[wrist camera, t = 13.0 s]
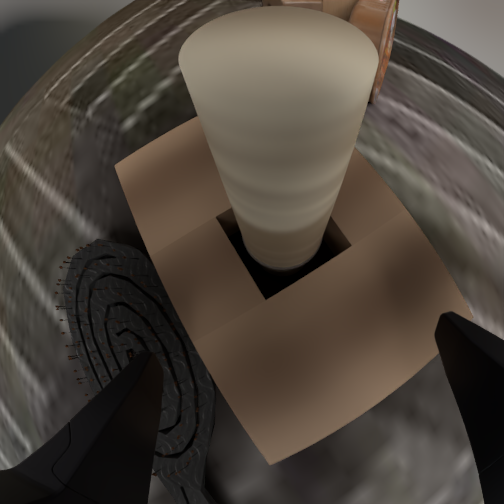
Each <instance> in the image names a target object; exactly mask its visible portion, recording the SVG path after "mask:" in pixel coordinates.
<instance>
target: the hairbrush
mask: <svg viewBox="0 0 504 504" xmlns="http://www.w3.org/2000/svg"><path fill="white" fill-rule="evenodd" d="M86 246H87V247H85V248H82V247H80V249H82V250H79V249H76V251H79V252H78V253H77V254H75V255H74V256H73V257H72V260H71V262H66V261H63V263H71V264H70V267H69V270H68V274H67V277H66V281H65V284H61V285H64V288H63V291H64V298H65V305H66V306H56V307H58V308H59V307H66V308H63V309H66V311H67V317H68V322H69V328H70V333H71V337H72V342H73V344H74V345H71V346H74V347H75V350H76V352H77V355H76V356H78V357H76V358H79V360H80V363H81V365H82V367H83V370H84V372H85V375H86V377H85V378H87V379H88V381H89V384H90V386H91V388H92V390H93V392H94V395H95V396H96V395H97V394H98V393H99V392H100V391H101V390H102V389H103V388H104V387H105V386H106V385H107V384H108V383H109V382H110V381H111V380H112V379H113V378H114V377H115V376H116V375H117V374H119V373H120V372H121V371H122V370H123V369H124V368H125V367H126V366H127V365H128V364H129V363H130V362H131V361H132V356H133V355H131V354H132V353H131V352H130V349H131V348H132V349H133V350H134V351H135V353H136V355H138V354H139V353H140V352H143V351H152V352H154V353H155V354H156V356H157V358H158V360H159V362H160V364H161V366H162V368H163V370H164V381H163V387H164V393H163V394H162V409H161V419H160V425H159V430H158V436H157V442H156V448H155V454H154V460H153V467H152V468H153V469H154V471H155V473H156V474H155V473H153V474H152V475H154V476H157V475H158V477H159V478H160V480H161V481H162V483H163V484H164V486H165V487H166V488H167V490H168V491H169V493H170V494H171V495H172V497H173V498H174V500H175V502H176V503H177V504H216V502H215V501H214V500H213V498H212V497H211V495H210V494H209V493H208V491H207V490H206V488H205V469H206V456H207V453H208V450H209V446H210V441H211V436H212V432H213V428H214V425H213V417H214V424H215V402H216V397H215V391H214V384H213V378H212V376H211V374H210V373H209V371H208V369H207V368H206V366H205V364H204V362H203V361H202V359H201V357H200V355H199V353H198V352H197V350H196V348H195V346H194V344H193V342H192V341H191V339H190V337H189V335H188V333H187V331H186V329H185V327H184V326H183V324H182V322H181V320H180V318H179V316H178V314H177V312H176V310H175V308H174V306H173V304H172V302H171V300H170V298H169V296H168V294H167V292H166V290H165V288H164V285H163V283H162V281H161V279H160V277H159V275H158V273H157V270H156V268H155V266H154V264H153V262H152V261H151V260H150V259H149V258H148V257H147V255H146V254H145V253H143V252H142V251H140V250H139V249H137V248H134V247H132V246H130V245H126V244H121V243H116V242H111V241H105V240H100V239H97V240H95V241H94V242H93V243H91V244H90V245H89V244H87V245H86ZM116 257H117V258H116ZM67 258H68V259H70V257H68V256H67ZM59 267H60V269H62V268H63V267H62V266H59ZM110 274H113V275H120V276H126V277H128V278H130V279H131V280H132V281H133V282H135V283H136V284H137V285H138V286H139V287H141V288H142V289H143V290H144V291H143V290H142V289H141V288H139V287H138V286H136V285H134V284H132V283H131V282H130V281H128V280H124V279H122V278H118V277H113V276H108V275H110ZM58 281H59V282H60V281H62V280H61V279H58ZM56 285H60V284H58V283H57V284H56ZM145 291H146V292H147V293H146V292H145ZM55 294H58V292H55ZM151 296H152V297H153V298H154V299H155V300H157V301H158V302H159V304H160V305H161V304H162V305H163V307H164V309H162V307H161V306H160V305H159V304H158V303H157V302H156V301H155V300H154V299H153V298H152V297H151ZM117 303H127V304H128V305H130V306H131V307H132V308H133V309H135V310H136V311H135V310H133V309H132V308H130V307H129V306H125V305H121V306H116V304H117ZM58 308H57V309H56V310H59V309H58ZM165 311H166V312H167V313H166V312H165ZM143 316H144V317H143ZM147 319H148V320H147ZM60 321H63V319H60ZM127 329H129V330H131V331H127V332H125V330H127ZM155 332H156V333H155ZM61 334H65V333H64V332H62V333H61ZM157 335H158V336H157ZM138 336H139V337H140V336H141V337H143V339H144V340H143V339H142V338H141V337H140V338H139V337H138ZM180 336H181V337H180ZM159 338H160V339H159ZM181 338H182V339H181ZM182 340H183V341H184V343H185V344H186V348H187V351H186V349H185V347H184V344H183V341H182ZM161 341H162V342H161ZM66 347H68V345H66ZM166 348H167V349H166ZM167 350H168V351H167ZM167 352H169V353H167ZM187 352H188V354H187ZM169 355H170V358H171V360H170V358H169ZM188 355H189V356H188ZM68 357H69V360H72V359H75V358H70V357H73V356H68ZM189 358H190V360H189ZM171 361H172V363H171ZM190 362H191V363H190ZM172 364H173V365H172ZM191 365H192V367H191ZM192 368H193V371H192ZM78 371H79V370H78ZM74 372H77V371H76V370H74ZM193 372H194V374H193ZM194 375H195V378H196V381H197V385H198V391H199V407H198V402H197V396H198V395H197V390H196V385H195V380H194ZM80 379H83V378H80ZM80 379H79V378H78V379H77V380H80ZM88 381H87V382H88ZM178 382H179V383H178ZM83 383H84V382H83ZM78 384H82V383H81V382H79V383H78ZM179 385H180V387H179ZM180 388H181V390H182V393H183V400H182V410H181V399H182V395H181V391H180ZM91 394H92V393H91ZM87 395H88V394H85V396H87ZM90 401H91V400H88V402H90ZM198 409H199V424H197V417H198V415H197V414H198ZM180 412H181V422H180V423H179V424H178V425H177V426H176V427H175V428H173V429H171V430H162V429H165V428H168V427H171V426H174V425H175V423H176V421H177V419H178V417H180V416H179V415H180ZM178 420H179V419H178ZM212 425H213V428H212ZM197 426H199V427H198V430H197V433H196V434H195V431H196V427H197ZM161 430H162V431H161ZM194 434H195V438H194V442H193V443H192V444H191V445H190V446H188V447H187V448H186V449H185V450H184V448H185V447H186V445H187V444H188V443H189V441H190V440H191V439H192V438H193V437H194ZM183 450H184V451H183ZM178 452H181V453H180V454H175V453H178Z"/></svg>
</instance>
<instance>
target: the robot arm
mask: <svg viewBox="0 0 504 504" xmlns="http://www.w3.org/2000/svg"><path fill="white" fill-rule="evenodd" d="M434 337H435V341H436V344H437V347H438V350H439V353H440V356H441V360H442V363H443V366H444V369H445V373H446V376H447V378H448V381H449V384H450V386H451V389H452V391H453V394H454V396H455V399H456V402H457V405H458V407H459V410H460V413H461V416H462V419H463V422H464V425H465V428H466V431H467V434H468V437H469V441H470V444H471V447H472V451H473V454H474V458H475V462H476V466H477V470H478V474H479V479H480V483H481V488H482V493H483V498H484V504H504V340H503V339H501V338H499V337H497V336H496V335H494V334H492V333H490V332H489V331H487V330H485V329H483V328H482V327H480V326H478V325H476V324H475V323H473V322H471V321H469V320H467V319H466V318H464V317H462V316H460V315H458V314H457V313H455V312H453V311H449V312H445V313H442V314H441V315H440V317H439V320H438V323H437V326H436V329H435V333H434ZM163 381H164V370H163V368H162V366H161V364H160V362H159V360H158V358H157V356H156V354H155V353H154V352H152V351H143V352H140V353H139V354H138V355H137V356H136V357H135V358H134V359H133V360H132V361H131V362H130V363H129V364H128V365H127V366H126V367H125V368H124V369H123V370H122V371H121V372H120V373H119V374H117V375H116V376H115V377H114V378H113V379H112V380H111V381H110V382H109V383H108V384H107V385H106V386H105V387H104V388H103V389H102V390H101V391H100V392H99V393H98V394H97V395H96V396H95V397H94V398H93V399H92V400H91V401H90V402H89V403H88V404H87V405H86V406H85V407H84V408H82V409H81V410H80V411H79V412H78V413H77V414H76V415H75V416H74V417H73V418H72V419H71V420H70V422H68V423H67V424H66V425H65V426H64V427H63V428H62V429H61V430H60V431H59V432H58V433H57V434H55V435H54V436H53V437H52V438H51V439H50V440H49V441H47V442H46V443H45V444H44V445H43V446H42V447H40V448H39V449H38V450H36V451H35V452H34V453H33V454H31V455H30V456H29V457H28V458H26V459H25V460H24V461H22V462H21V463H20V464H18V465H17V466H15V467H13V468H10V469H7V470H0V504H147V503H148V495H149V488H150V481H151V474H152V467H153V460H154V454H155V448H156V442H157V436H158V430H159V425H160V419H161V409H162V394H163Z"/></svg>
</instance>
